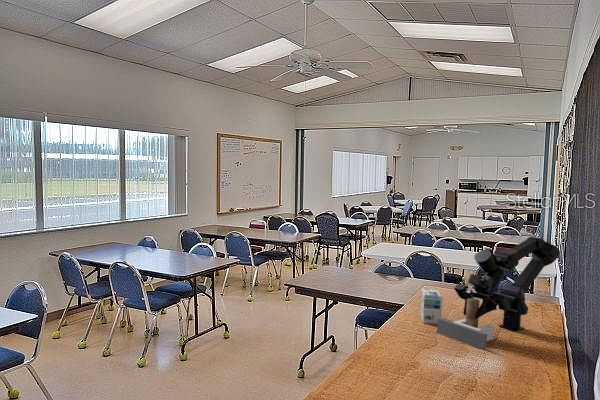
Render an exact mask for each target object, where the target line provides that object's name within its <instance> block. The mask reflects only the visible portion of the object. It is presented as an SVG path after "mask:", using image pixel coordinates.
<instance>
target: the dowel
mask: <svg viewBox="0 0 600 400" xmlns="http://www.w3.org/2000/svg"><path fill="white" fill-rule="evenodd" d="M480 300H481V299H479V298H474V299H473V298H468V299H467V307H466V315H465V319H466V323H465V324H466V325H469V326H472V327H475V328H477V327H479V318H477V319H476V318H475V314H476V312H477V311H478V309H479V307H480Z"/></svg>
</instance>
